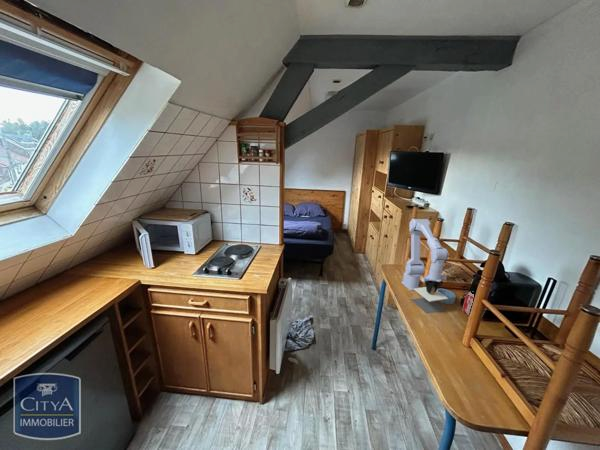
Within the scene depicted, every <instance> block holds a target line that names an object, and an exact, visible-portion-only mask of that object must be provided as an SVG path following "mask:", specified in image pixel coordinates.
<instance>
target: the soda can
mask: <svg viewBox="0 0 600 450" xmlns="http://www.w3.org/2000/svg"><path fill="white" fill-rule="evenodd" d="M471 291H472V290H471ZM471 291H468V292H467V294H466V295H465V298H464V301H463V306H462V312H463V314H465V315H467V316H469V313H470V309H471V306H472V303H473V299H474V294H472V293H471ZM469 317H470V316H469Z"/></svg>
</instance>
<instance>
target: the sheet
mask: <svg viewBox="0 0 600 450" xmlns="http://www.w3.org/2000/svg"><path fill="white" fill-rule="evenodd" d="M413 291H416V292H417V293H418V294H419V295H421V297H422V298H426V299H427V300H428V301H429V302H431V301H435V302H437V301H438V300H444V299H448V298H447V297H446V296H445V295H443V294H442V293H440V292H439V291H438V290H437V291H436V292H434V291H435V287H434V286H433V287H432V290H431V292H430V293H428V292H427V291H426V286H423V287H420V288H414V290H413Z"/></svg>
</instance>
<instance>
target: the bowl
mask: <svg viewBox="0 0 600 450" xmlns="http://www.w3.org/2000/svg"><path fill="white" fill-rule="evenodd" d="M437 290H438V291H439V292H440V293H442V294H443V295H445V296H446V297H447V298H448V299H444V300H437V301H438V302H440V303H443V304H446V305H453V304H454V303H455V301H456V294H455V292H453V291H451V290H448V289H446V288H438V289H437Z"/></svg>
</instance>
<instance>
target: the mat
mask: <svg viewBox="0 0 600 450" xmlns="http://www.w3.org/2000/svg"><path fill="white" fill-rule="evenodd" d="M410 301H411V302H413V303H414V304H415V305H416V306H417V307H418V308H419V309H421V310H422V311H423V312H424V313H425V314H432V313H441V312H445V311H447V309H446V308H444V307H443V306H442V305H441V304H439V303H438V302H437V301H431V302H429V301H428V300H427V299H426V298H424V297H418V298H411V299H410Z"/></svg>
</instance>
